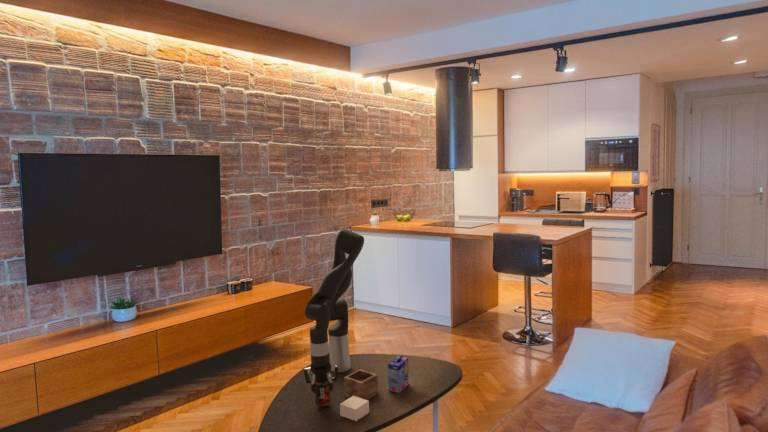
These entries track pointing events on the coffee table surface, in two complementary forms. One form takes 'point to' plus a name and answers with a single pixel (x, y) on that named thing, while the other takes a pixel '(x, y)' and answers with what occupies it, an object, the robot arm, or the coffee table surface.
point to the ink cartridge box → (398, 374)
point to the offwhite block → (354, 408)
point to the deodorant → (321, 386)
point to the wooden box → (361, 384)
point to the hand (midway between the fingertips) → (322, 391)
